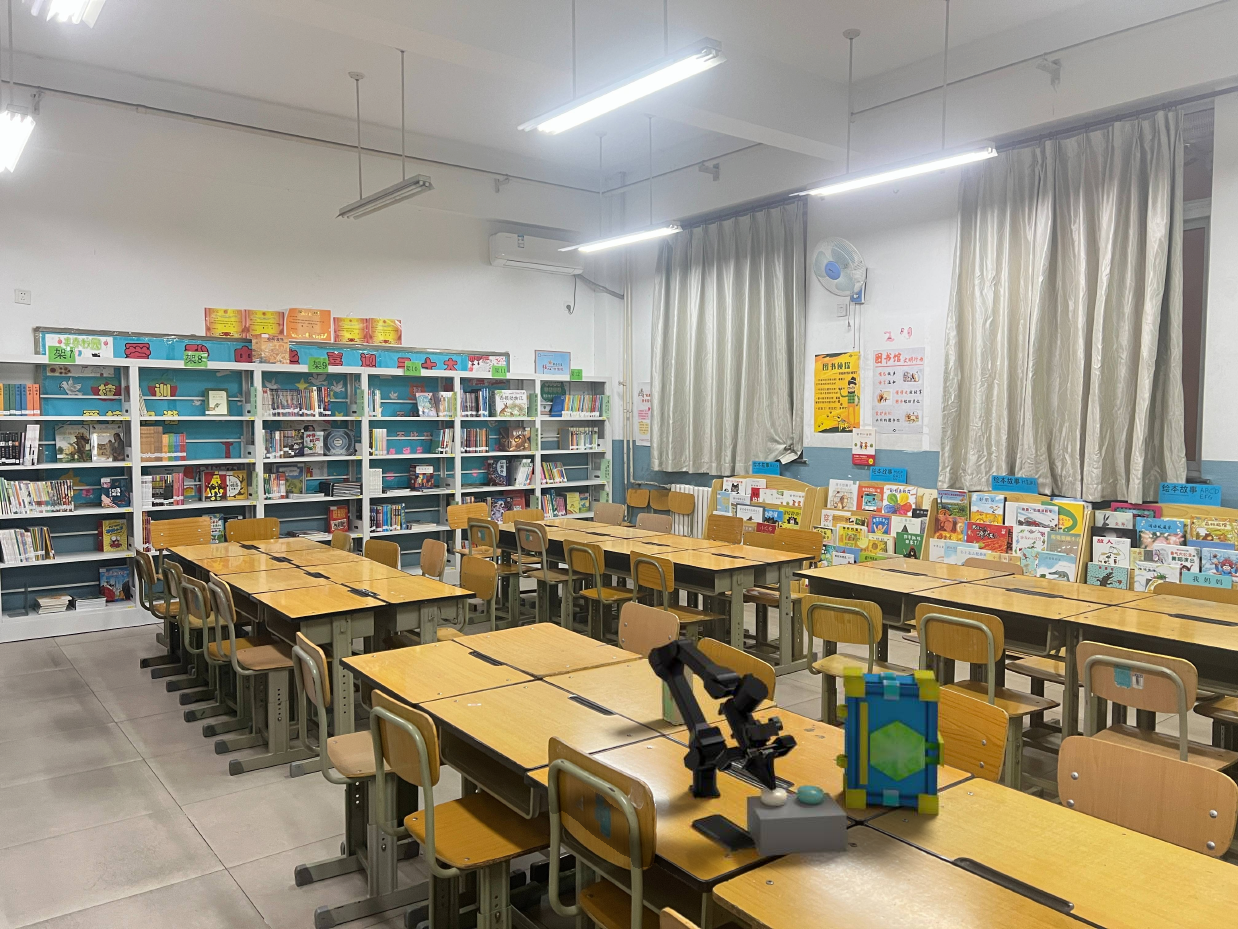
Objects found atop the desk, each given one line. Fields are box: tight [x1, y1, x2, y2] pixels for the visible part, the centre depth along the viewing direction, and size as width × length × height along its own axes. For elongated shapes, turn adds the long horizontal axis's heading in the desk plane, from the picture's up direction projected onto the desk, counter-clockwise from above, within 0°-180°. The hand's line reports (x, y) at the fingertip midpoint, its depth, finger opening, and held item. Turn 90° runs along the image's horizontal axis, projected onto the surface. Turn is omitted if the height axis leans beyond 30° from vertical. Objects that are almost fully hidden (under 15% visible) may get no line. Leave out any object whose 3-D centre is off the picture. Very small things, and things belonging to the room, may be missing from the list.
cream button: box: [760, 786, 788, 806], centre depth 183 cm, size 5×5×5 cm
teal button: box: [796, 784, 824, 804], centre depth 184 cm, size 5×5×5 cm
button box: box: [746, 792, 848, 857], centre depth 181 cm, size 11×18×8 cm, turn 96°
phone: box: [691, 813, 755, 853], centre depth 184 cm, size 8×1×15 cm
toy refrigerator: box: [661, 665, 694, 726], centre depth 256 cm, size 8×7×21 cm
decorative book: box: [835, 666, 945, 816], centre depth 199 cm, size 14×23×30 cm, turn 78°
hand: (774, 789), depth 183 cm, fingers closed
